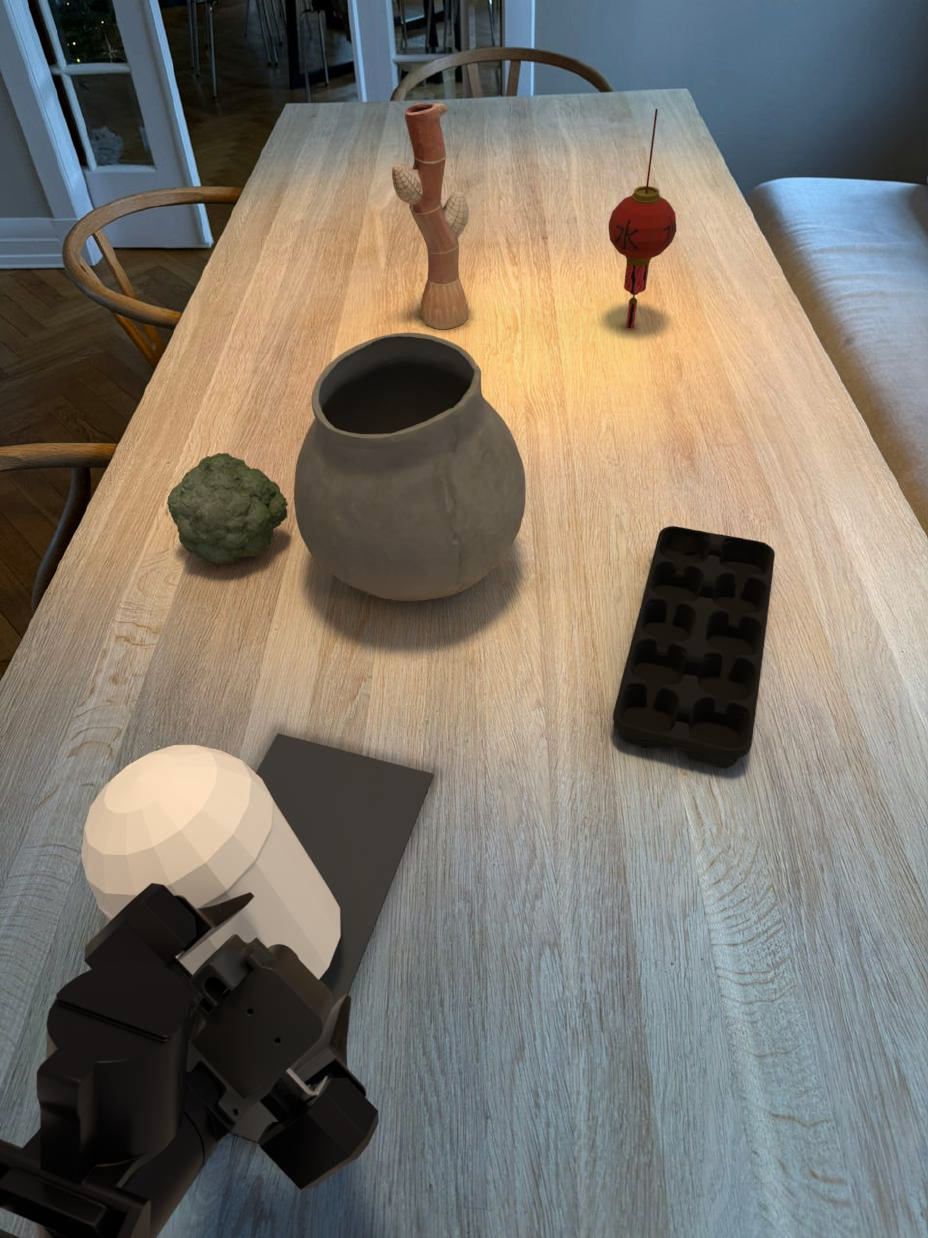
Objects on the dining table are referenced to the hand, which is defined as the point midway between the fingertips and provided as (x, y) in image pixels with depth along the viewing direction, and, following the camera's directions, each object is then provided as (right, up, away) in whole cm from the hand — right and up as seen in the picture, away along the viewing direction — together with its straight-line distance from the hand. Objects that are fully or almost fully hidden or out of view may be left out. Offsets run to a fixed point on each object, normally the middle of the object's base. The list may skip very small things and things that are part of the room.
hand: (296, 948), depth 58 cm
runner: (-4, -3, +16) cm, 17 cm away
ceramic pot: (+6, +28, +43) cm, 52 cm away
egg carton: (+35, +18, +33) cm, 52 cm away
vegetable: (-16, +31, +47) cm, 58 cm away
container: (-5, -4, +12) cm, 13 cm away
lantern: (+36, +66, +76) cm, 107 cm away
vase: (+7, +68, +79) cm, 105 cm away
